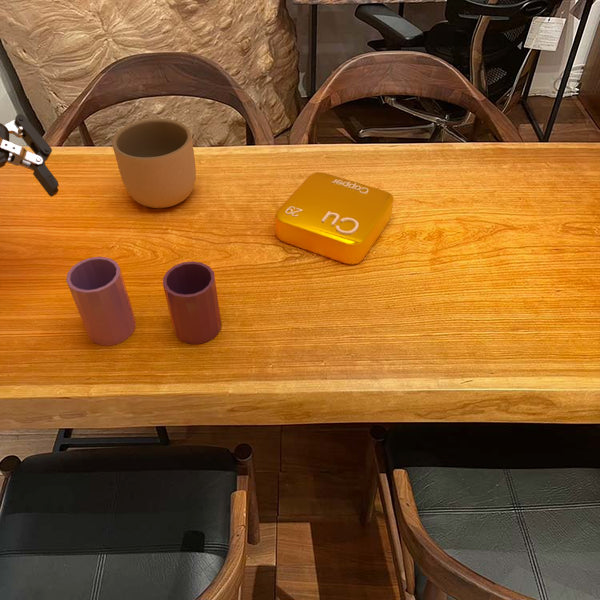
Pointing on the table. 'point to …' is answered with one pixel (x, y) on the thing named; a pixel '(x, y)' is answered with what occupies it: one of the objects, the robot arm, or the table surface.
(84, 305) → the lilac cup
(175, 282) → the plum cup
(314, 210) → the element tile
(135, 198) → the planter
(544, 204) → the table surface
